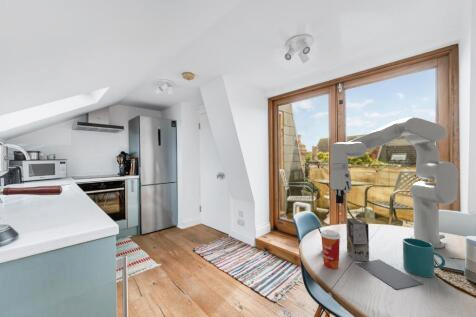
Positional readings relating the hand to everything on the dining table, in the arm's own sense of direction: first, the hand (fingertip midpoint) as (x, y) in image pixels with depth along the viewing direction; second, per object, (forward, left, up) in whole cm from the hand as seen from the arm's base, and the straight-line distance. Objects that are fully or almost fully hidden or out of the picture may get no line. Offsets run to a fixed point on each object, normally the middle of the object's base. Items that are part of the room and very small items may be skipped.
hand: (339, 203), depth 100 cm
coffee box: (0, +10, -22) cm, 25 cm away
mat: (0, +24, -22) cm, 33 cm away
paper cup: (+17, +14, -22) cm, 31 cm away
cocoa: (+10, +3, -22) cm, 25 cm away
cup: (-14, +27, -22) cm, 38 cm away
